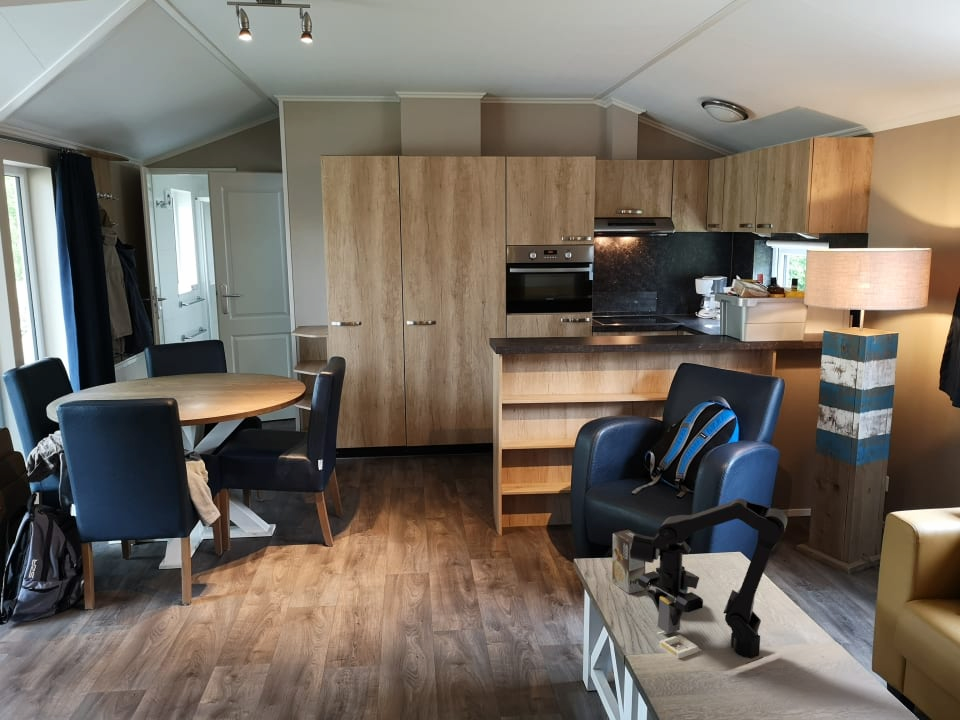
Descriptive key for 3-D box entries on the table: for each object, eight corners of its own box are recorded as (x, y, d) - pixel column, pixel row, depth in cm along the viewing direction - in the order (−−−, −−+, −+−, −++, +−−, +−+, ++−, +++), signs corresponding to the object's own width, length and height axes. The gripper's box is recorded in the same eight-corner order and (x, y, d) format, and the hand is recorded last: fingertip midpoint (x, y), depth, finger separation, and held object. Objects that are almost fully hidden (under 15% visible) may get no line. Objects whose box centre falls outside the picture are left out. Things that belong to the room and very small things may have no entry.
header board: (707, 652, 195) (707, 643, 195) (674, 664, 190) (675, 654, 190) (672, 630, 207) (672, 621, 206) (640, 640, 201) (640, 631, 201)
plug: (679, 630, 202) (681, 600, 200) (668, 633, 200) (669, 603, 198) (668, 622, 205) (670, 592, 204) (657, 626, 203) (658, 596, 202)
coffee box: (646, 590, 230) (647, 539, 227) (628, 594, 227) (629, 543, 225) (627, 578, 238) (629, 529, 235) (610, 582, 235) (611, 532, 233)
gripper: (720, 572, 195) (717, 629, 198) (669, 547, 211) (667, 599, 214) (687, 582, 190) (685, 640, 192) (638, 555, 206) (636, 609, 209)
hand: (668, 621), depth 202 cm, fingers closed on plug, 4 cm apart
